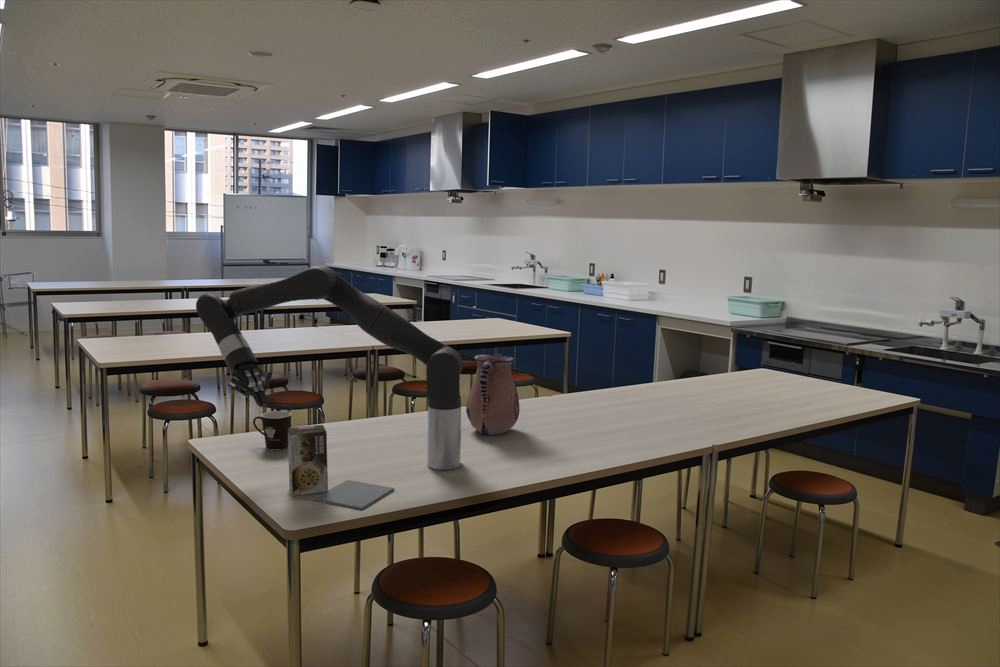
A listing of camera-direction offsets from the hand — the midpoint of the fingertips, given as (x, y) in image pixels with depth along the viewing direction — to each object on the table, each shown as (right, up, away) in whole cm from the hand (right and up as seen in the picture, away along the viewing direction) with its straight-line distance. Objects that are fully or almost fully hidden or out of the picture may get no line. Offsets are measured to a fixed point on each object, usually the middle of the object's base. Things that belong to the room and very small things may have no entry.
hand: (264, 405), depth 208 cm
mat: (+26, -21, -13) cm, 36 cm away
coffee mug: (-5, -15, +27) cm, 31 cm away
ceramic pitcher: (+60, -13, +47) cm, 77 cm away
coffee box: (+14, -21, -10) cm, 27 cm away
